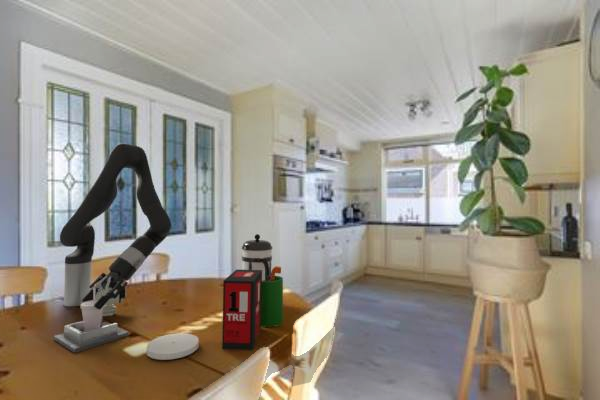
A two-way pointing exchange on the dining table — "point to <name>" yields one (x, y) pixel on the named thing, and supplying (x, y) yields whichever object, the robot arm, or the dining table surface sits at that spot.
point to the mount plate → (88, 336)
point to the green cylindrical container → (272, 299)
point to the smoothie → (91, 314)
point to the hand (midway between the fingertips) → (90, 305)
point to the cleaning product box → (242, 309)
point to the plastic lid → (172, 346)
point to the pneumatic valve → (111, 302)
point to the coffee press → (257, 256)
